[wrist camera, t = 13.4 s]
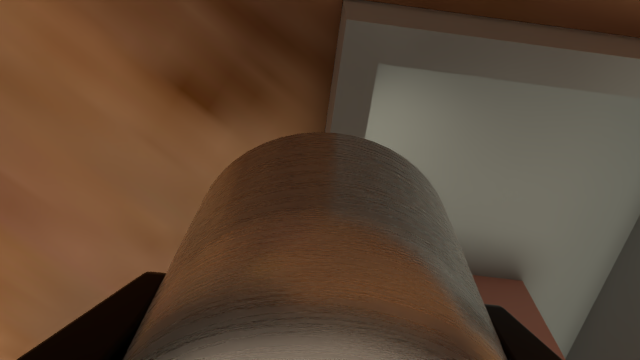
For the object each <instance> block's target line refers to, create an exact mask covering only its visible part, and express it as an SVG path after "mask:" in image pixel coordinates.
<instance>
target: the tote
mask: <svg viewBox="0 0 640 360" xmlns="http://www.w3.org/2000/svg"><path fill="white" fill-rule="evenodd" d="M325 133H340V134H346V135H352V136H357V137H360V138H364V139H367V140H370V141H373V142H376V143H378V144H380V145H383V146H385V147H387V148H389V149H391V150H393V151H394V152H396V153H398V154H399V155H401V156H403V157H404V158H406V159H407V160H408V161H409V162H410V163H412V164H413V165H414V166H415V167H417V168H418V169H419V170H420V171H421V172H422V173H423V175H424V176H425V177H426V178H427V179H428V180H429V181H430V183H431V184H432V186H433V187H434V189H435V190H436V192H437V193H438V195H439V197H440V199H441V201H442V203H443V205H444V207H445V210H446V212H447V215H448V217H449V220H450V222H451V224H452V227H453V229H454V232H455V234H456V237H457V239H458V241H459V244H460V246H461V249H462V251H463V254H464V256H465V258H466V261H467V263H468V266H469V268H470V271H471V273H472V275H477V276H485V277H494V278H503V279H511V280H520V281H523V283H524V285H525V286H526V288H527V290H528V292H529V294H530V296H531V297H532V299H533V301H534V303H535V305H536V307H537V308H538V310H539V312H540V314H541V316H542V317H543V319H544V321H545V323H546V325H547V327H548V328H549V330H550V332H551V334H552V336H553V338H554V339H555V341H556V343H557V345H558V347H559V349H560V350H561V352H562V354H563V356H564V358H565V359H566V360H640V38H636V37H629V36H622V35H614V34H607V33H600V32H592V31H585V30H578V29H570V28H563V27H556V26H548V25H541V24H534V23H526V22H519V21H512V20H504V19H497V18H490V17H483V16H475V15H468V14H461V13H453V12H446V11H439V10H431V9H424V8H417V7H409V6H402V5H395V4H387V3H380V2H373V1H365V0H343V5H342V12H341V19H340V26H339V34H338V41H337V48H336V55H335V63H334V70H333V77H332V84H331V91H330V99H329V106H328V113H327V120H326V127H325Z"/></svg>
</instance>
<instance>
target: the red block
mask: <svg viewBox="0 0 640 360" xmlns="http://www.w3.org/2000/svg"><path fill="white" fill-rule="evenodd" d="M473 278H474V280H475V283H476V285H477V288H478V290H479V292H480V295H481V297H482V300H483V302H484V304H491V305H499V306H501V307H503V308H504V309H506V310H507V311H508V312H509V313H510V314H511V315H512V316H513V317H515V318H516V319H517V320H518V321H519V322H520V323H521V324H523V325H524V326H525V327H526V328H527V329H528V330H529V331H530V332H532V333H533V334H534V335H535V336H536V337H537V338H538V339H540V340H541V341H542V342H543V343H544V344H545V345H546V346H548V347H549V348H550V349H551V350H552V351H553V352H554V353H555V354H557V355H558V356H559V357H560V358H561V359H562V360H566V359H565V358H564V356H563V354H562V352H561V350H560V349H559V347H558V345H557V343H556V341H555V339H554V338H553V336H552V334H551V332H550V330H549V328H548V327H547V325H546V323H545V321H544V319H543V317H542V316H541V314H540V312H539V310H538V308H537V307H536V305H535V303H534V301H533V299H532V297H531V296H530V294H529V292H528V290H527V288H526V286H525V285H524V283H523V281H520V280H511V279H503V278H494V277H485V276H477V275H473Z"/></svg>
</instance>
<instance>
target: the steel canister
mask: <svg viewBox="0 0 640 360" xmlns="http://www.w3.org/2000/svg"><path fill="white" fill-rule="evenodd" d="M123 360H507V358H506V355H505V353H504V351H503V348H502V346H501V343H500V341H499V339H498V336H497V334H496V331H495V329H494V326H493V324H492V322H491V319H490V317H489V314H488V312H487V309H486V307H485V305H484V302H483V300H482V297H481V295H480V292H479V290H478V288H477V285H476V283H475V280H474V278H473V275H472V273H471V271H470V268H469V266H468V263H467V261H466V258H465V256H464V254H463V251H462V249H461V246H460V244H459V241H458V239H457V237H456V234H455V232H454V229H453V227H452V224H451V222H450V220H449V217H448V215H447V212H446V210H445V207H444V205H443V203H442V201H441V199H440V197H439V195H438V193H437V192H436V190H435V189H434V187H433V186H432V184H431V183H430V181H429V180H428V179H427V178H426V177H425V176H424V175H423V173H422V172H421V171H420V170H419V169H418V168H417V167H415V166H414V165H413V164H412V163H410V162H409V161H408V160H407V159H406V158H404V157H403V156H401V155H399V154H398V153H396V152H394V151H393V150H391V149H389V148H387V147H385V146H383V145H380V144H378V143H376V142H373V141H370V140H367V139H364V138H360V137H357V136H352V135H346V134H340V133H325V132H314V133H302V134H295V135H291V136H286V137H281V138H278V139H275V140H272V141H270V142H267V143H264V144H262V145H260V146H258V147H256V148H254V149H252V150H250V151H248V152H246V153H245V154H244V155H242V156H241V157H239V158H238V159H236V160H235V161H234V162H232V163H231V164H230V165H229V166H228V167H227V168H226V169H225V170H224V171H223V172H222V173H221V174H220V175H219V177H218V178H217V179H216V180H215V181H214V183H213V184H212V186H211V187H210V189H209V191H208V192H207V194H206V196H205V198H204V200H203V202H202V204H201V206H200V208H199V210H198V211H197V213H196V215H195V217H194V219H193V221H192V223H191V225H190V227H189V229H188V231H187V233H186V235H185V237H184V239H183V241H182V243H181V245H180V247H179V249H178V251H177V253H176V255H175V257H174V259H173V261H172V263H171V265H170V267H169V269H168V271H167V273H166V275H165V277H164V279H163V281H162V283H161V285H160V287H159V289H158V291H157V293H156V295H155V297H154V298H153V300H152V302H151V304H150V306H149V308H148V310H147V312H146V314H145V316H144V318H143V320H142V322H141V324H140V326H139V328H138V330H137V332H136V334H135V336H134V338H133V340H132V342H131V344H130V346H129V348H128V350H127V352H126V354H125V356H124V358H123Z"/></svg>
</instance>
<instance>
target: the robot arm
mask: <svg viewBox="0 0 640 360" xmlns="http://www.w3.org/2000/svg"><path fill="white" fill-rule="evenodd" d="M165 275H166V273H159V272H146V273H144V274H142V275H141V276H139V277H138V278H136V279H135V280H133V281H132V282H130V283H129V284H127V285H126V286H124V287H123V288H121V289H120V290H118V291H117V292H116V293H114V294H113V295H111V296H110V297H108V298H107V299H105V300H104V301H102V302H101V303H99V304H98V305H96V306H95V307H93V308H92V309H91V310H89V311H88V312H86V313H85V314H83V315H82V316H80V317H79V318H77V319H76V320H74V321H73V322H71V323H70V324H68V325H67V326H66V327H64V328H63V329H61V330H60V331H58V332H57V333H55V334H54V335H52V336H51V337H49V338H48V339H46V340H45V341H43V342H42V343H40V344H39V345H38V346H36V347H35V348H33V349H32V350H30V351H29V352H27V353H26V354H24V355H23V356H21V357H20V358H18V359H17V360H123V358H124V356H125V354H126V352H127V350H128V348H129V346H130V344H131V342H132V340H133V338H134V336H135V334H136V332H137V330H138V328H139V326H140V324H141V322H142V320H143V318H144V316H145V314H146V312H147V310H148V308H149V306H150V304H151V302H152V300H153V298H154V297H155V295H156V293H157V291H158V289H159V287H160V285H161V283H162V281H163V279H164V277H165ZM484 305H485V307H486V309H487V312H488V314H489V317H490V319H491V322H492V324H493V326H494V329H495V331H496V334H497V336H498V339H499V341H500V343H501V346H502V348H503V351H504V353H505V355H506V358H507V360H562V359H561V358H560V357H559V356H558V355H557V354H555V353H554V352H553V351H552V350H551V349H550V348H549V347H548V346H546V345H545V344H544V343H543V342H542V341H541V340H540V339H538V338H537V337H536V336H535V335H534V334H533V333H532V332H530V331H529V330H528V329H527V328H526V327H525V326H524V325H523V324H521V323H520V322H519V321H518V320H517V319H516V318H515V317H513V316H512V315H511V314H510V313H509V312H508V311H507V310H506V309H504V308H503V307H501V306H499V305H491V304H484Z"/></svg>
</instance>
